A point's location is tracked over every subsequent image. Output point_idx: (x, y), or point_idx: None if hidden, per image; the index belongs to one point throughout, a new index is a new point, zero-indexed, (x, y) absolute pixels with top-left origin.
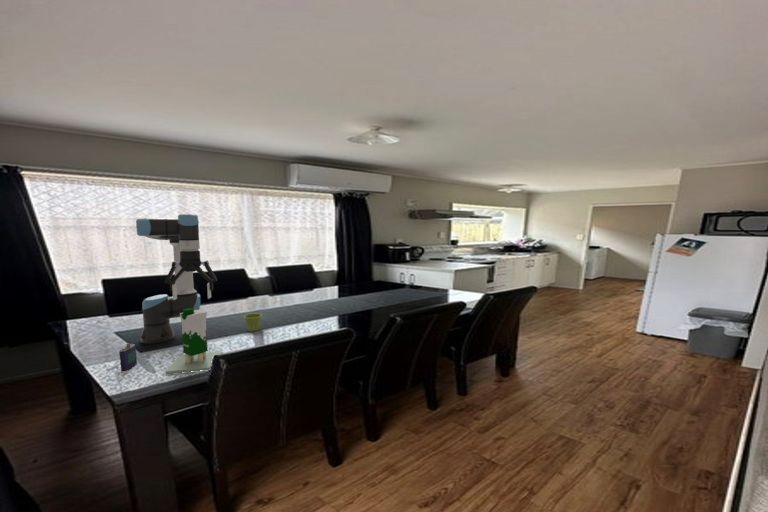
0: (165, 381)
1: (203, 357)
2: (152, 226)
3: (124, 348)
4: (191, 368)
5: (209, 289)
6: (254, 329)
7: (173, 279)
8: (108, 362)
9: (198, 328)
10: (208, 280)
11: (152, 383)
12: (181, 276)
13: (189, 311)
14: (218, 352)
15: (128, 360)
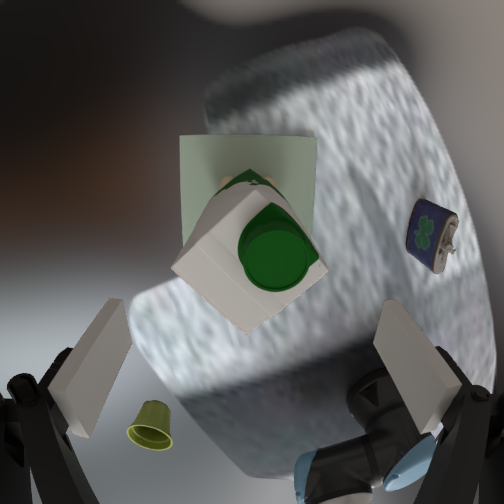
0: (301, 92)
1: None
2: None
3: (451, 238)
4: (244, 139)
5: (78, 351)
6: (149, 403)
7: (477, 437)
8: (455, 270)
9: (217, 198)
10: (35, 420)
11: (332, 91)
12: None
13: (261, 228)
14: None
15: (426, 217)
